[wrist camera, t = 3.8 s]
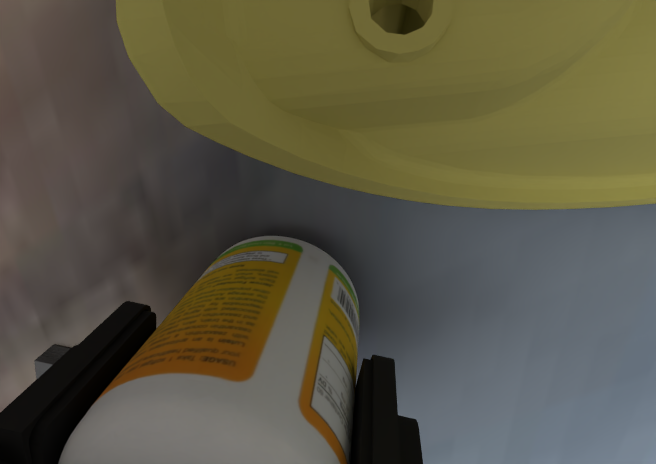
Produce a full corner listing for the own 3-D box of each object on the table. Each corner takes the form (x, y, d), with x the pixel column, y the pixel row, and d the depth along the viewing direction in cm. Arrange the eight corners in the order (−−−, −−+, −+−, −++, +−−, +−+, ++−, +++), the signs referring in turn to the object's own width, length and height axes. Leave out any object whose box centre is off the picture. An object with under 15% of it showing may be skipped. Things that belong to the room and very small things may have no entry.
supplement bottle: (182, 318, 14) (-141, 732, 5) (248, 199, 12) (-93, 544, 3) (309, 390, 15) (209, 868, 6) (392, 287, 13) (430, 780, 4)
